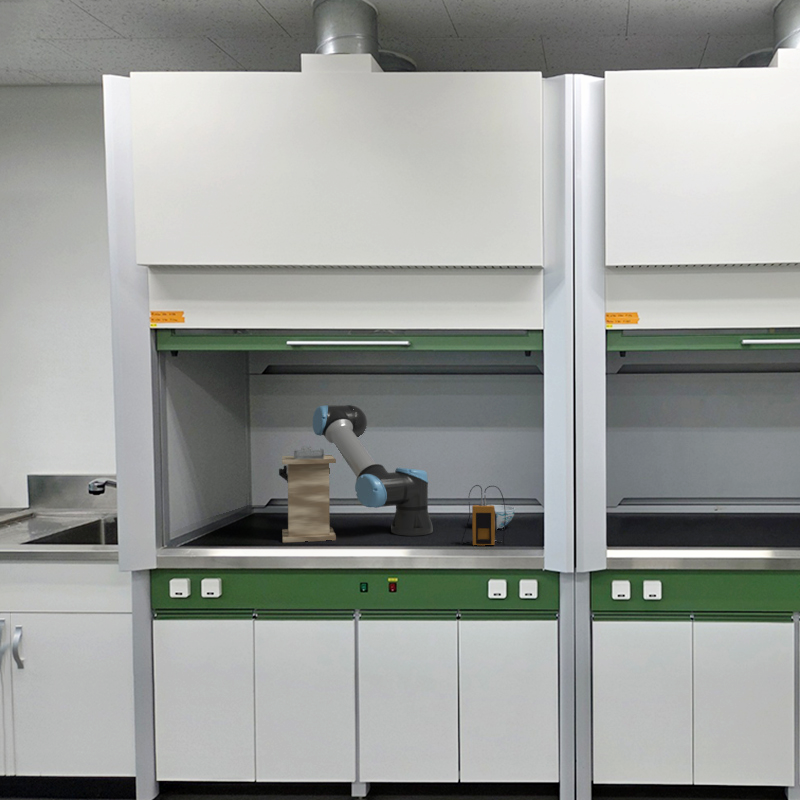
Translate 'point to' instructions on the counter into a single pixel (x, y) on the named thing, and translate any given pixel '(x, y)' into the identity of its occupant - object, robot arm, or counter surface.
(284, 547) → the counter surface
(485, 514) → the multimeter
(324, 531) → the stand
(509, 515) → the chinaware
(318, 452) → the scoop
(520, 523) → the counter surface
